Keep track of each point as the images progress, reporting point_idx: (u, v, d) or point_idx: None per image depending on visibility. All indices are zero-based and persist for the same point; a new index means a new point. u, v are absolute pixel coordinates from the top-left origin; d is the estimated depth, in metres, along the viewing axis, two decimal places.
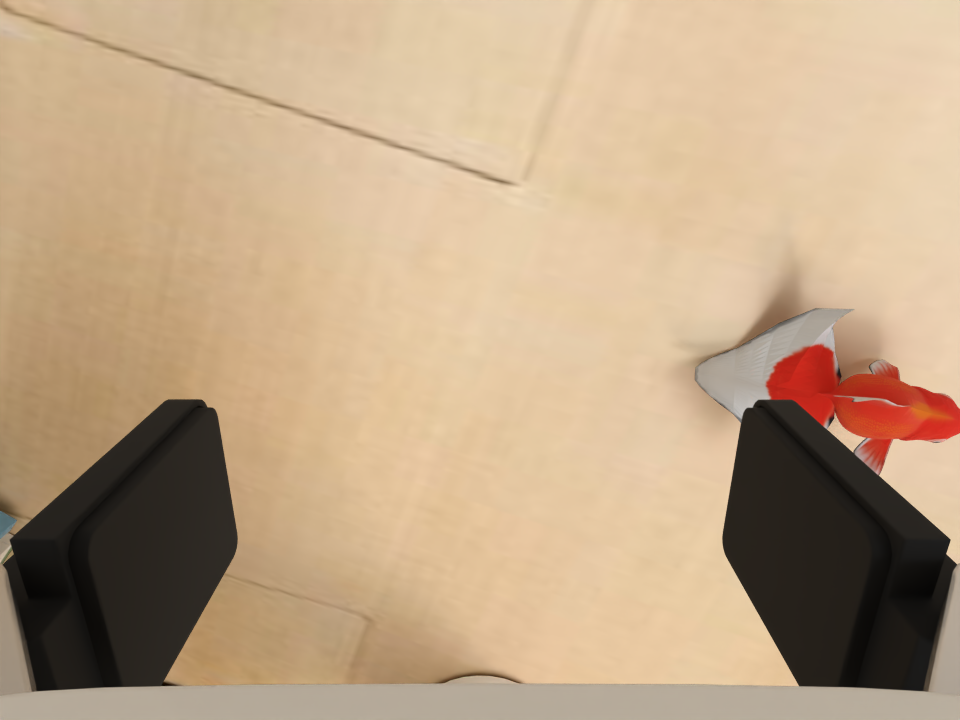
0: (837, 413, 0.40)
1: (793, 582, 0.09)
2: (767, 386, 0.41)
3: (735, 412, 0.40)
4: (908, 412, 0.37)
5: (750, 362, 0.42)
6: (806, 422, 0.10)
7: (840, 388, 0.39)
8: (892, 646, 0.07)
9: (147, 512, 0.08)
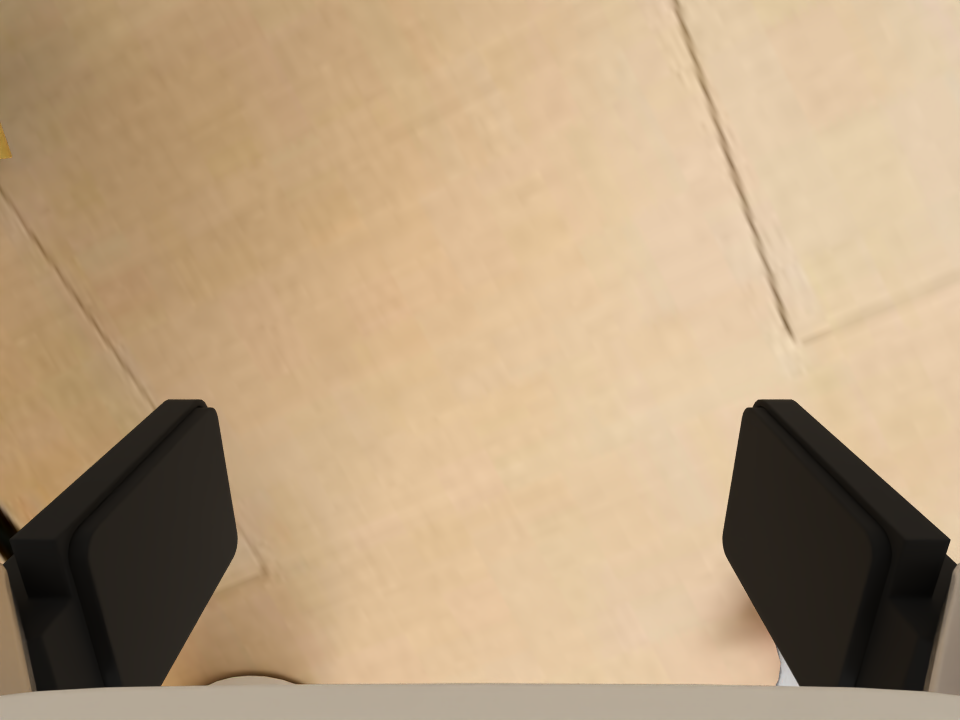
0: None
1: (793, 582, 0.09)
2: None
3: (781, 663, 0.39)
4: None
5: None
6: (806, 422, 0.10)
7: None
8: (893, 646, 0.07)
9: (147, 512, 0.08)
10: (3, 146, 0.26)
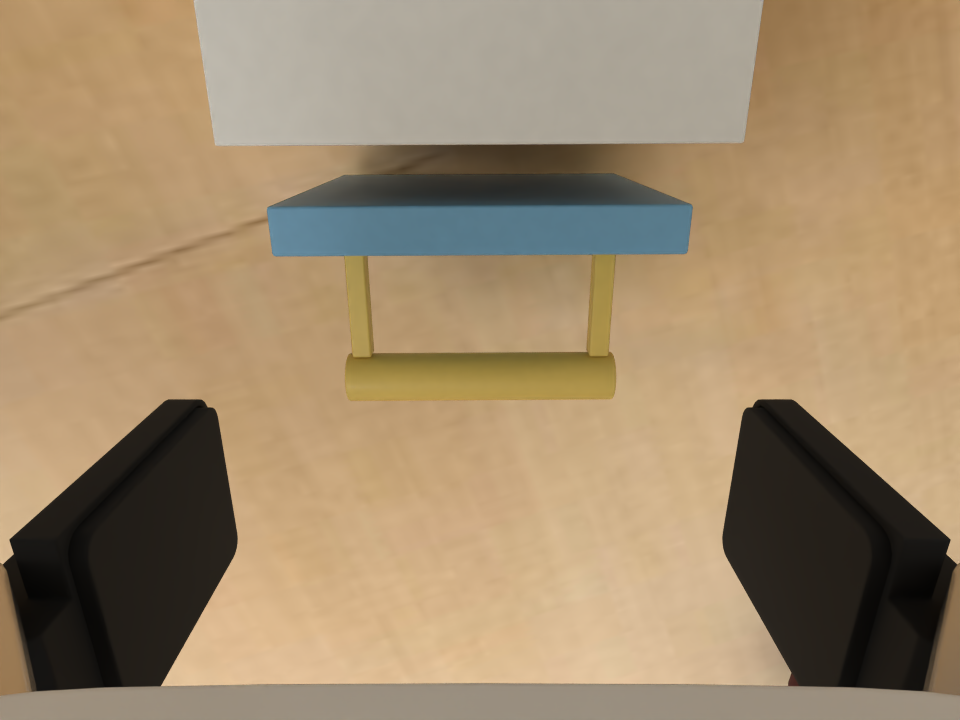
0: None
1: (793, 582, 0.09)
2: None
3: None
4: None
5: None
6: (806, 422, 0.10)
7: None
8: (893, 646, 0.07)
9: (147, 512, 0.08)
10: None
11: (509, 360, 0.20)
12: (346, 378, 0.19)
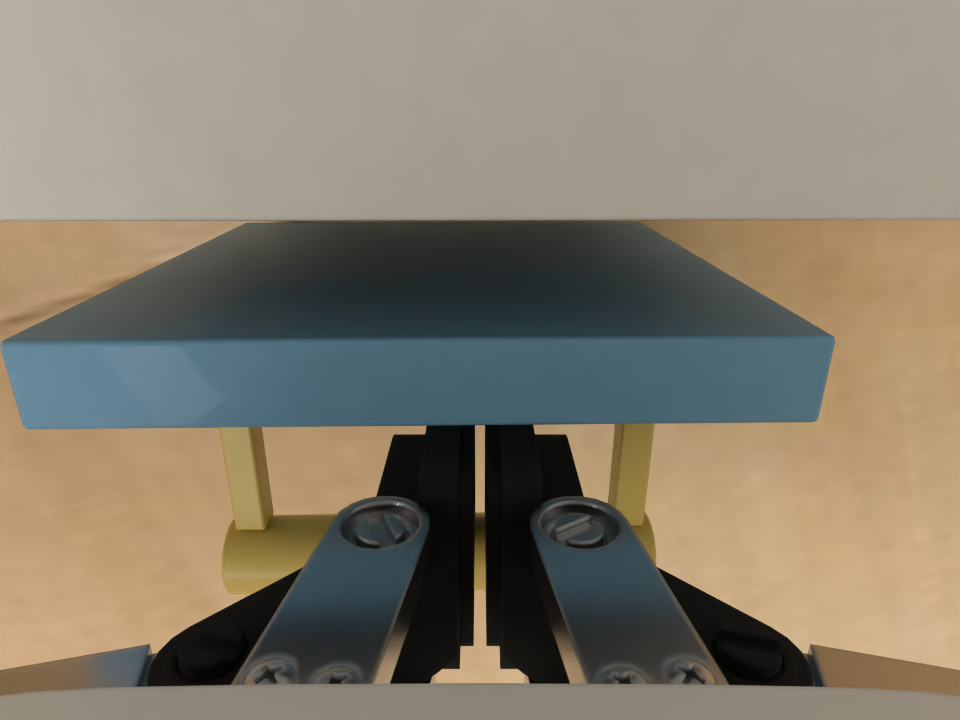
0: None
1: None
2: None
3: None
4: None
5: None
6: None
7: None
8: (502, 572, 0.08)
9: None
10: None
11: None
12: (223, 567, 0.12)
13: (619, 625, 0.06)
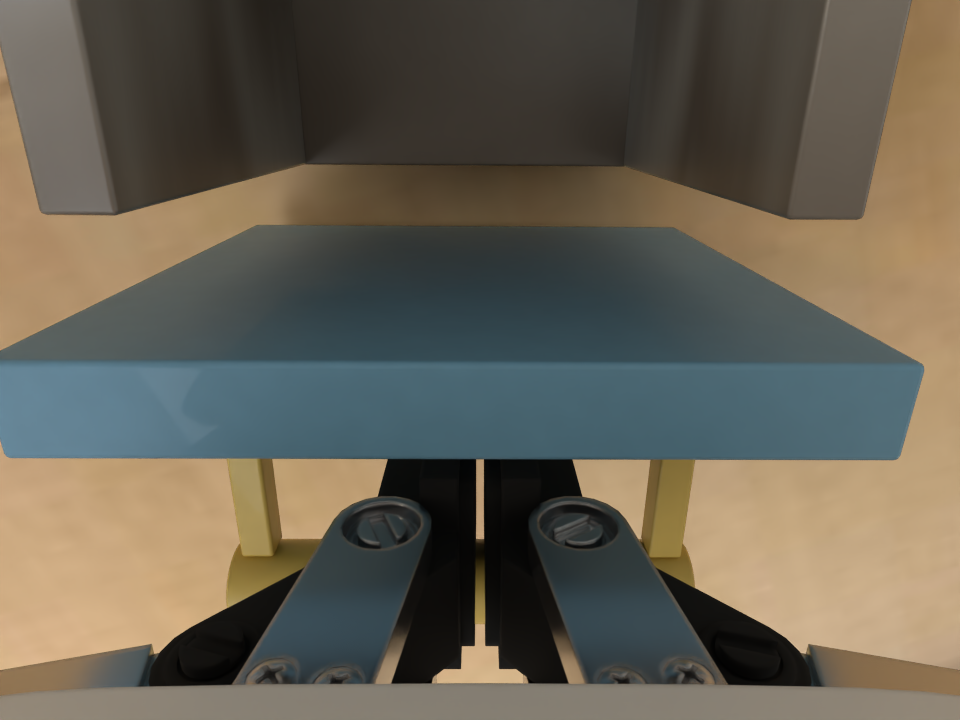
0: None
1: None
2: None
3: None
4: None
5: None
6: None
7: None
8: (501, 573, 0.08)
9: None
10: None
11: None
12: (228, 597, 0.11)
13: (618, 625, 0.06)
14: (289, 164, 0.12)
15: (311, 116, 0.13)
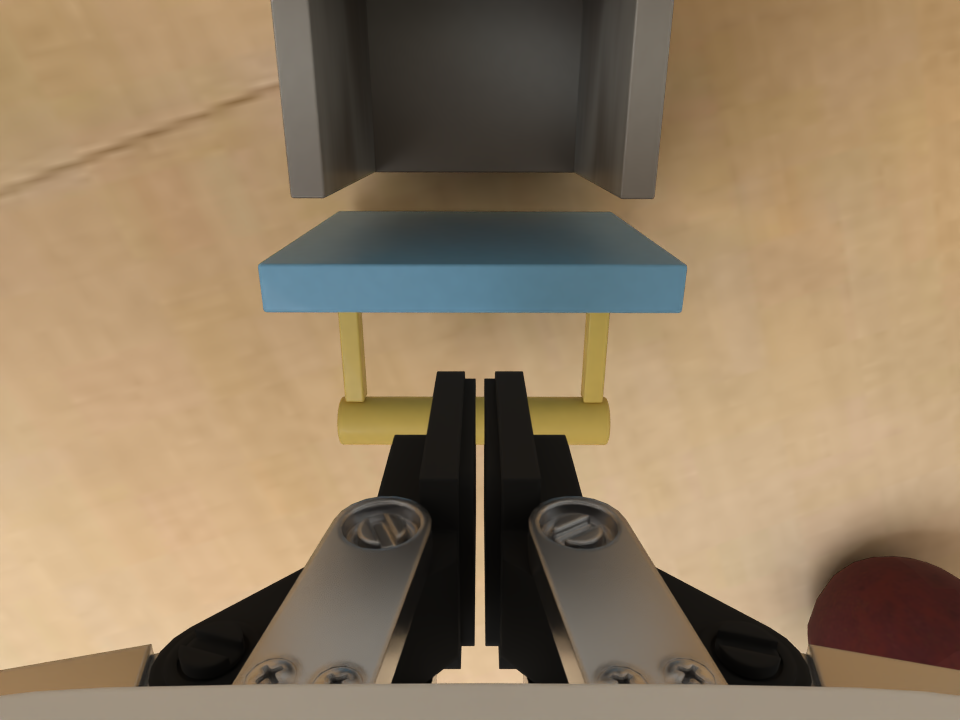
0: None
1: None
2: None
3: None
4: None
5: None
6: (514, 389, 0.11)
7: None
8: (501, 573, 0.08)
9: (473, 465, 0.10)
10: None
11: None
12: (338, 423, 0.19)
13: (619, 626, 0.06)
14: (369, 172, 0.20)
15: (379, 142, 0.21)
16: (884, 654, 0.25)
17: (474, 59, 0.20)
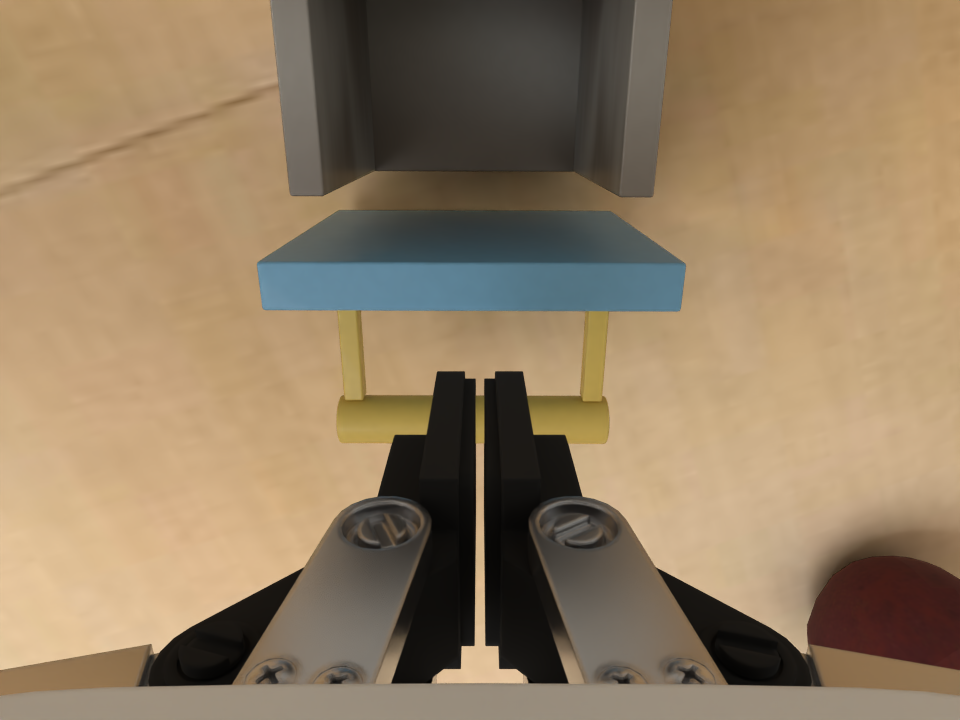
0: None
1: None
2: None
3: None
4: None
5: None
6: (514, 389, 0.11)
7: None
8: (501, 572, 0.08)
9: None
10: None
11: None
12: (338, 422, 0.19)
13: (619, 625, 0.06)
14: (369, 171, 0.20)
15: (379, 141, 0.21)
16: (883, 653, 0.25)
17: (474, 58, 0.20)
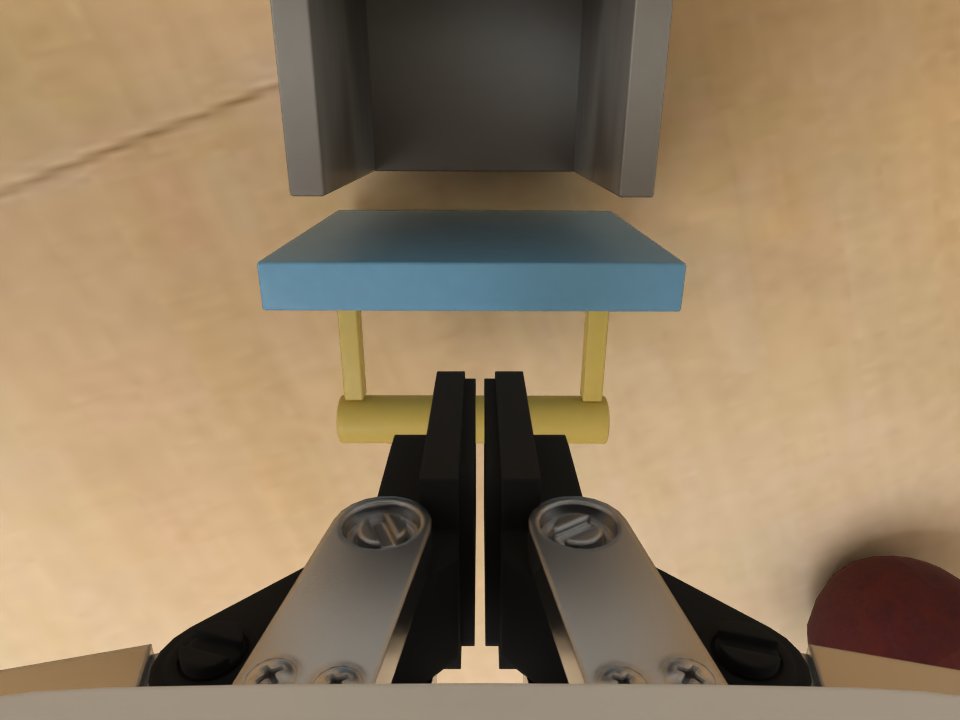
0: None
1: None
2: None
3: None
4: None
5: None
6: (514, 389, 0.11)
7: None
8: (501, 572, 0.08)
9: None
10: None
11: None
12: (338, 422, 0.19)
13: (619, 625, 0.06)
14: (369, 171, 0.20)
15: (379, 141, 0.21)
16: (883, 653, 0.25)
17: (474, 58, 0.20)
